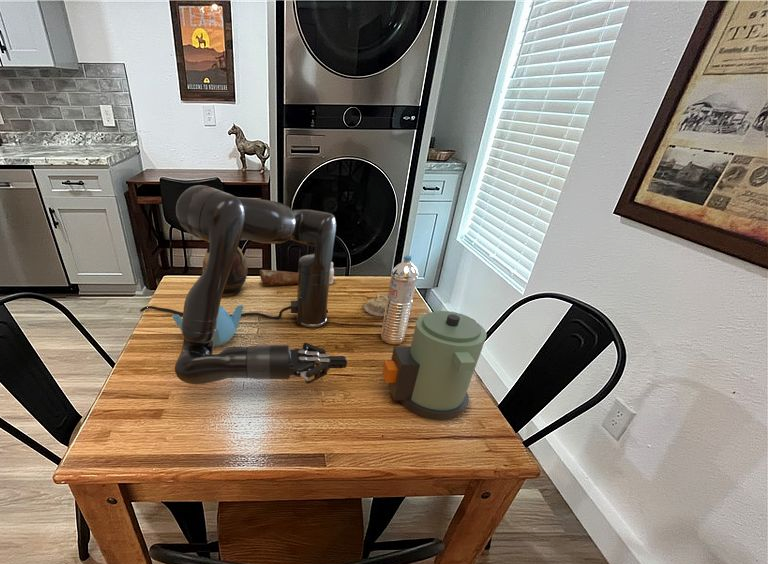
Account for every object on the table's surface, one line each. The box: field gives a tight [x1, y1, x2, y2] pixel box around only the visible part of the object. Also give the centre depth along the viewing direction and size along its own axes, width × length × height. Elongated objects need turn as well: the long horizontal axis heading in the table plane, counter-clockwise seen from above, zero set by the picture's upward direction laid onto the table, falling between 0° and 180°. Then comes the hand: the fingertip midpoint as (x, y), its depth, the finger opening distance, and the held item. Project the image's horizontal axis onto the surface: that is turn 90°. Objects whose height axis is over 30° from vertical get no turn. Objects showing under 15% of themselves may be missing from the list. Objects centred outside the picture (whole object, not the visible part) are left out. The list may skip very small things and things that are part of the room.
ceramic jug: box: [202, 242, 248, 297], centre depth 130 cm, size 17×15×30 cm
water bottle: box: [380, 254, 419, 346], centre depth 106 cm, size 7×7×25 cm
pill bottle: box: [329, 261, 335, 285], centre depth 144 cm, size 4×4×8 cm
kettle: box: [387, 310, 488, 421], centre depth 86 cm, size 18×23×22 cm
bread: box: [259, 269, 298, 286], centre depth 143 cm, size 6×19×6 cm, turn 95°
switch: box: [381, 360, 398, 384], centre depth 87 cm, size 2×4×4 cm, turn 1°
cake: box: [363, 294, 388, 317], centre depth 127 cm, size 10×10×5 cm
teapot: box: [172, 304, 244, 348], centre depth 110 cm, size 15×15×11 cm
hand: (346, 361), depth 86 cm, fingers closed
